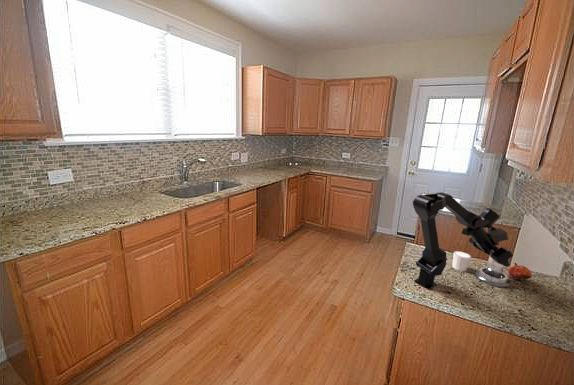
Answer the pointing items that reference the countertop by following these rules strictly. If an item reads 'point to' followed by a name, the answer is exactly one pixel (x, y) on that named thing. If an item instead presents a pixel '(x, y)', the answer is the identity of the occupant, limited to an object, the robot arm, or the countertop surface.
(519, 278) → the pomegranate
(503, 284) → the collar
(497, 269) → the clear drinking glass
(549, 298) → the countertop surface
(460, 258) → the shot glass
